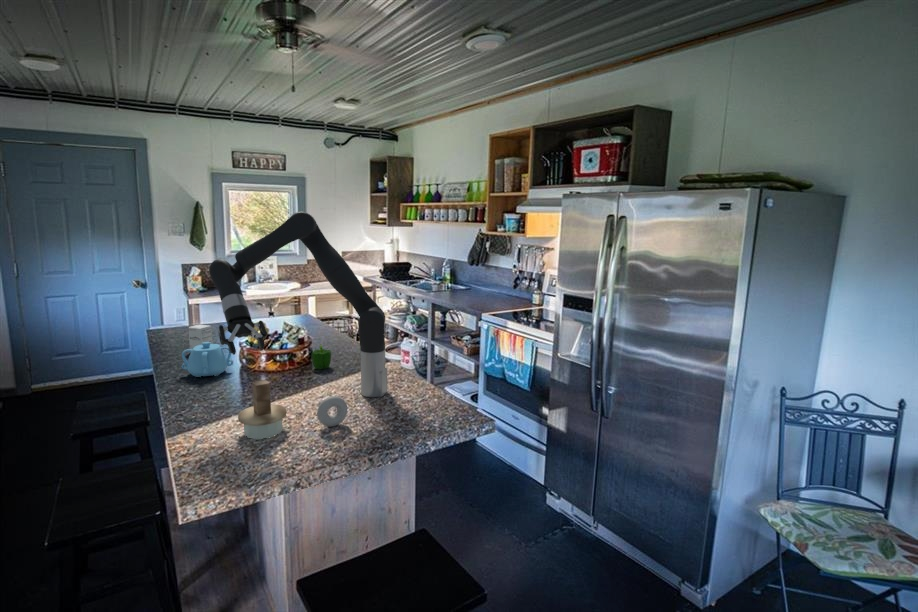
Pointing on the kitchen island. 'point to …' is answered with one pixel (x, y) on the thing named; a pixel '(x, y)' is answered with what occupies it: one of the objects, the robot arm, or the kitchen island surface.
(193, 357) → the decorative pot
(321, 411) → the donut
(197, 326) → the supplement box
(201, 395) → the kitchen island surface
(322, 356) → the bell pepper
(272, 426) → the bowl
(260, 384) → the lid
